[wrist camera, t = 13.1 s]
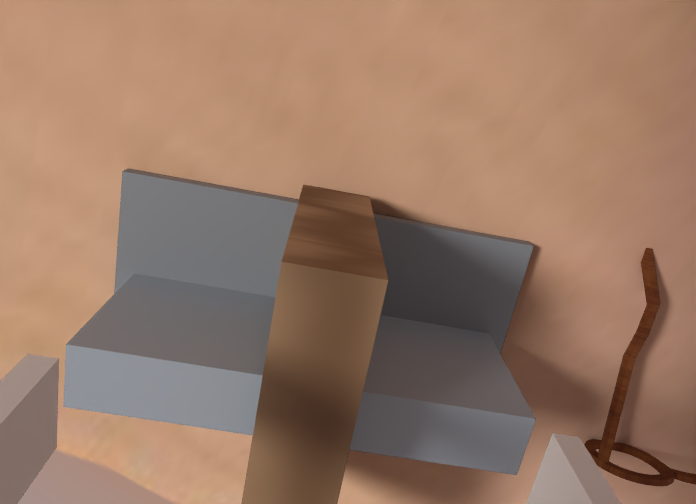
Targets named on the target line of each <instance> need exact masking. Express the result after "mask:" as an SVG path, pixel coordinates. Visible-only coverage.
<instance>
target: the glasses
mask: <svg viewBox="0 0 696 504" xmlns="http://www.w3.org/2000/svg"><path fill="white" fill-rule="evenodd" d="M641 266H642V273H643V280H644V288H645V295H646V302H647V306H646V308H645V311H644V313H643V316H642V319H641V321H640V324H639V326H638V329H637V331H636V333H635V335H634V337H633V339H632V340H631V342H630V344H629V346H628V348H627V350H626V351H625V353H624V355H623V359H622V363H621V367H620V371H619V375H618V379H617V382H616V386H615V390H614V394H613V398H612V402H611V406H610V410H609V414H608V418H607V422H606V426H605V429H604V433H603V437H602V440H596V439H591V440H588V441H586V442H585V447H586V449H587V450H588V452H589V453H590V455H591V457H592V458H593V460H594V461H595V463H596V465H598V466H599V467H601V468H602V469H604V470H606V471H608V472H610V473H612V474H614V475H616V476H618V477H621V478H623V479H626V480H629V481H633V482H636V483H640V484H645V485H651V486H667V485H670V484H671V483H673V481H674V479H677V480H680V481H683V482H687V483H691V484H696V474H692V473H686V472H681V471H678V470H674V469H671V468H669V467H667V466H666V465H665V464H664V463H662V462H661V461H659V460H658V459H656V458H655V457H653V456H651V455H650V454H648V453H646V452H644V451H642V450H640V449H637V448H635V447H632V446H629V445H626V444H621V443H615V442H614V439H615V435H616V431H617V428H618V424H619V420H620V416H621V412H622V408H623V404H624V400H625V397H626V393H627V389H628V385H629V381H630V377H631V373H632V369H633V365H634V362H635V359H636V357H637V355H638V353H639V351H640V350H641V348H642V346H643V344H644V342H645V340H646V339H647V337H648V335H649V333H650V330H651V327H652V325H653V322H654V319H655V316H656V314H657V311H658V308H659V305H660V298H659V291H658V284H657V277H656V270H655V263H654V256H653V249H650V248H646V250H645V253H644V256H643V258H642V261H641ZM596 449H599V453H598V452H597V451H596ZM612 450H616V451H620V452H624V453H627V454H630V455H632V456H635V457H637V458H639V459H641V460H643V461H645V462H646V463H648V464H649V465H651V466H652V467H654V468H655V469H656V470H657V471H658V472H659V473H660V474H659V475H648V474H642V473H637V472H633V471H630V470H627V469H624V468H621V467H619V466H617V465H615V464H613V463H611V462H609V459H610V455H611V451H612Z"/></svg>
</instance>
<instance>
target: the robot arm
mask: <svg viewBox="0 0 696 504" xmlns="http://www.w3.org/2000/svg"><path fill="white" fill-rule="evenodd" d="M58 378H59V358H52V357H46V356H39V355H33V354H27V355H26V356H25V357H24V358H23V359H22V360H21V361H20V362H19V363H18V364H17V365H16V366H15V367H14V368H13V369H12V370H11V371H10V372H9V373H8V374H7V375H6V376H5V377H4V378H3V379H2V380H1V381H0V504H17V503H18V502H19V500H20V499H21V498H22V496H23V495H24V493H25V492H26V490H27V489H28V488H29V486H30V485H31V483H32V482H33V480H34V479H35V478H36V476H37V475H38V473H39V472H40V470H41V469H42V467H43V466H44V465H45V463H46V462H47V460H48V459H49V457H50V456H51V455H52V453H53V452H54V450H55V449H56V447H57V414H58ZM526 504H621V503H620V501H619V499H618V498H617V496H616V495H615V493H614V491H613V490H612V488H611V487H610V485H609V484H608V482H607V480H606V479H605V477H604V476H603V474H602V472H601V471H600V469H599V468H598V466H597V465H596V463H595V461H594V460H593V458H592V457H591V455H590V453H589V452H588V450H587V449H586V447H585V445H584V444H583V442H582V441H581V439H580V438H579V437H575V436H569V435H562V434H556V433H552V436H551V439H550V441H549V444H548V447H547V449H546V452H545V455H544V457H543V460H542V463H541V466H540V468H539V471H538V474H537V476H536V479H535V482H534V485H533V487H532V490H531V493H530V495H529V498H528V501H527V503H526Z"/></svg>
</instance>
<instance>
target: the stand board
mask: <svg viewBox="0 0 696 504" xmlns="http://www.w3.org/2000/svg"><path fill="white" fill-rule="evenodd" d="M298 202H299V200H298V199H292V198H287V197H282V196H276V195H271V194H265V193H260V192H254V191H249V190H243V189H238V188H232V187H227V186H221V185H216V184H210V183H205V182H199V181H194V180H188V179H183V178H177V177H172V176H166V175H161V174H155V173H150V172H144V171H139V170H134V169H126V170H124V171H123V172H122V187H121V202H120V216H119V231H118V246H117V261H116V276H115V290H114V295H113V296H112V297H111V298H110V299H109V300H108V301H107V302H106V303H105V304H104V306H103V307H102V308H101V309H100V310H99V311H98V312H97V313H96V314H95V315H94V316H93V317H92V318H91V319H90V320H89V321H88V322H87V323H86V324H85V325H84V326H83V327H82V328H81V329H80V330H79V331H78V333H77V334H76V335H75V336H74V337H73V338H72V339H71V340H70V341H69V342H68V343H67V344H66V360H65V385H64V407H68V408H75V409H82V410H88V411H95V412H101V413H108V414H115V415H121V416H128V417H135V418H141V419H148V420H154V421H161V422H168V423H174V424H181V425H188V426H194V427H201V428H208V429H214V430H221V431H227V432H234V433H241V434H247V435H253V431H254V425H255V419H256V413H257V407H258V401H259V395H260V389H261V383H262V377H263V371H264V364H265V358H266V352H267V346H268V340H269V334H270V328H271V322H272V316H273V310H274V304H275V297H276V291H277V285H278V279H279V273H280V267H281V261H282V258H283V254H284V251H285V247H286V244H287V240H288V237H289V233H290V230H291V226H292V223H293V219H294V216H295V212H296V209H297V205H298ZM373 215H374V219H375V223H376V228H377V232H378V237H379V241H380V246H381V250H382V254H383V259H384V263H385V268H386V272H387V277H388V284H387V288H386V293H385V297H384V301H383V306H382V310H381V314H380V319H379V323H378V327H377V332H376V336H375V341H374V345H373V349H372V354H371V358H370V362H369V367H368V371H367V376H366V380H365V384H364V389H363V393H362V397H361V402H360V406H359V410H358V415H357V419H356V424H355V428H354V432H353V437H352V441H351V445H350V450H354V451H360V452H367V453H373V454H380V455H387V456H393V457H400V458H407V459H413V460H420V461H426V462H433V463H440V464H446V465H453V466H460V467H466V468H473V469H480V470H486V471H493V472H499V473H506V474H513V475H517V473H518V470H519V467H520V464H521V461H522V459H523V456H524V453H525V450H526V447H527V444H528V441H529V438H530V435H531V432H532V430H533V427H534V424H535V421H536V418H535V416H534V414H533V412H532V411H531V409H530V407H529V405H528V403H527V401H526V400H525V398H524V396H523V394H522V392H521V391H520V389H519V387H518V385H517V383H516V381H515V380H514V378H513V376H512V374H511V372H510V371H509V369H508V367H507V365H506V363H505V362H504V360H503V358H502V356H501V350H502V347H503V344H504V341H505V337H506V334H507V331H508V328H509V324H510V321H511V318H512V315H513V311H514V308H515V305H516V302H517V298H518V295H519V292H520V289H521V285H522V282H523V279H524V276H525V272H526V269H527V266H528V263H529V259H530V256H531V253H532V250H533V245H532V244H531V243H530V242H528V241H523V240H517V239H512V238H506V237H501V236H495V235H490V234H484V233H479V232H473V231H468V230H462V229H457V228H451V227H446V226H440V225H435V224H430V223H424V222H419V221H413V220H408V219H402V218H397V217H391V216H386V215H380V214H375V213H373Z"/></svg>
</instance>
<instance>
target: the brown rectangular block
mask: <svg viewBox="0 0 696 504" xmlns="http://www.w3.org/2000/svg"><path fill="white" fill-rule="evenodd" d="M387 284H388V277H387V272H386V268H385V263H384V259H383V254H382V250H381V246H380V241H379V237H378V232H377V228H376V223H375V219H374V215H373V210H372V206H371V201H370V197H368V196H362V195H357V194H351V193H346V192H341V191H335V190H330V189H324V188H319V187H314V186H308V185H303V188H302V192H301V195H300V198H299V202H298V205H297V209H296V212H295V216H294V219H293V223H292V226H291V230H290V233H289V237H288V240H287V244H286V247H285V251H284V254H283V258H282V261H281V267H280V273H279V279H278V285H277V291H276V297H275V304H274V310H273V316H272V322H271V328H270V334H269V340H268V346H267V352H266V358H265V364H264V371H263V377H262V383H261V389H260V395H259V401H258V407H257V413H256V419H255V425H254V431H253V438H252V444H251V450H250V456H249V462H248V468H247V474H246V480H245V486H244V492H243V498H242V504H337V502H338V498H339V493H340V489H341V485H342V480H343V476H344V472H345V467H346V463H347V458H348V454H349V450H350V445H351V441H352V437H353V432H354V428H355V424H356V419H357V415H358V410H359V406H360V402H361V397H362V393H363V389H364V384H365V380H366V376H367V371H368V367H369V362H370V358H371V354H372V349H373V345H374V341H375V336H376V332H377V327H378V323H379V319H380V314H381V310H382V306H383V301H384V297H385V293H386V288H387Z"/></svg>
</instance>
